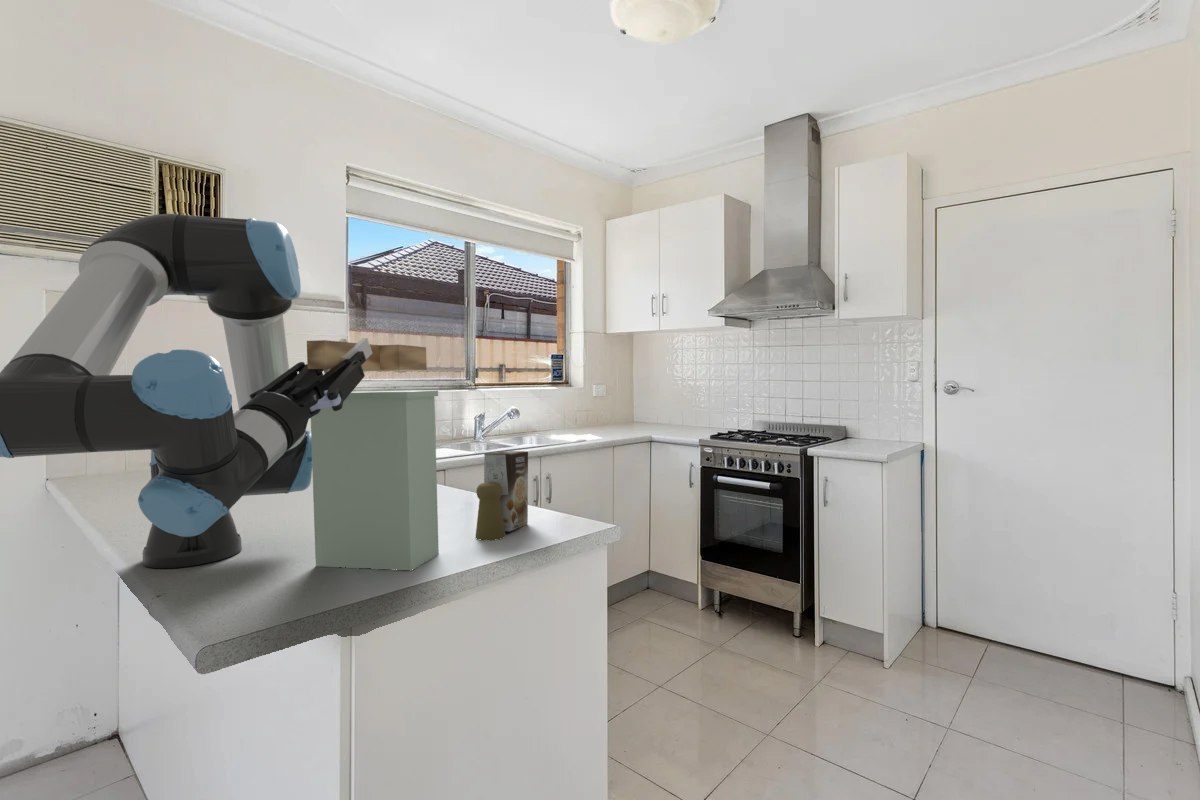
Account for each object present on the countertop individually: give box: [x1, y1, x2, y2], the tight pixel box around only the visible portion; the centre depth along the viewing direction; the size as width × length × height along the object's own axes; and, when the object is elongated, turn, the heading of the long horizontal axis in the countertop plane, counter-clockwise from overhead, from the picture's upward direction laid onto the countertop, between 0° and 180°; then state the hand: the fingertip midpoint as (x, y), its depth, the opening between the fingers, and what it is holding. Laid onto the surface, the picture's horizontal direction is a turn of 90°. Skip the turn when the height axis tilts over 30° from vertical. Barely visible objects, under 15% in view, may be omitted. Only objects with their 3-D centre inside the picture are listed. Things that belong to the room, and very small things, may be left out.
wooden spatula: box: [306, 339, 428, 372], centre depth 95 cm, size 10×22×4 cm, turn 168°
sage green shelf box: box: [310, 390, 440, 571], centre depth 105 cm, size 19×11×30 cm, turn 79°
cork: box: [475, 482, 506, 541], centre depth 120 cm, size 6×6×11 cm
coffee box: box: [483, 450, 529, 532], centre depth 127 cm, size 9×6×16 cm
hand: (357, 346), depth 94 cm, fingers closed on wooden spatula, 3 cm apart
